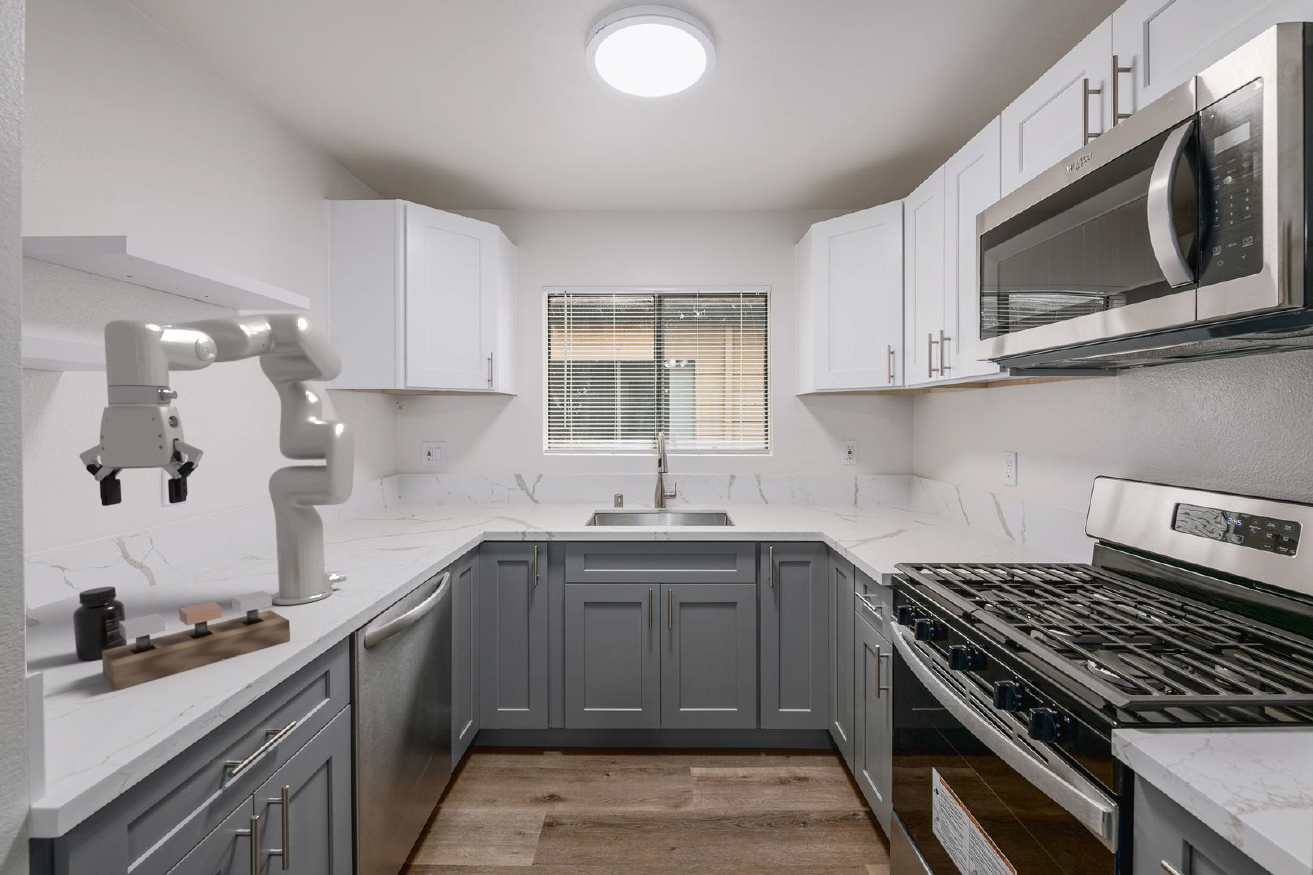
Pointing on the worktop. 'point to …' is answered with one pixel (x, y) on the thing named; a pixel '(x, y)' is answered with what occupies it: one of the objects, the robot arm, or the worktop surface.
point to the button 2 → (252, 604)
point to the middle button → (200, 616)
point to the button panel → (192, 649)
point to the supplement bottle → (98, 623)
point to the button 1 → (142, 630)
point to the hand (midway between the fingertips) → (145, 503)
